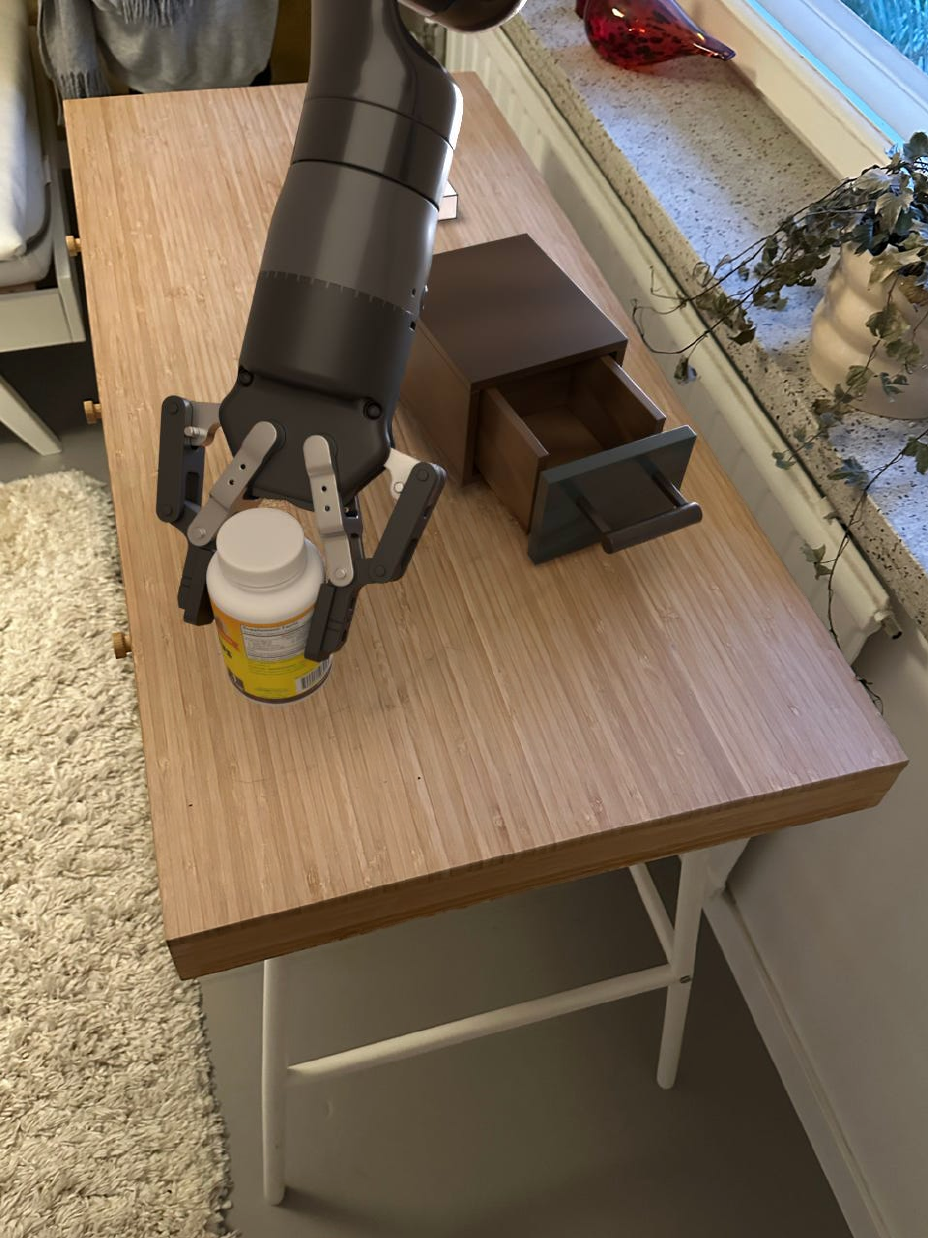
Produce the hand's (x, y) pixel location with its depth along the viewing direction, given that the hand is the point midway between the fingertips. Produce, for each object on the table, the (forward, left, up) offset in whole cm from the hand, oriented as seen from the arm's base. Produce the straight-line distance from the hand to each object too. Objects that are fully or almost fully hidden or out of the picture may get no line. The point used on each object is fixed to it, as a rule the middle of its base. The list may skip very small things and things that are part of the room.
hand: (257, 639), depth 49 cm
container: (-32, -55, -13) cm, 65 cm away
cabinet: (-27, -24, -13) cm, 39 cm away
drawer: (-27, -12, -12) cm, 32 cm away
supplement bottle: (-1, -1, -5) cm, 5 cm away
